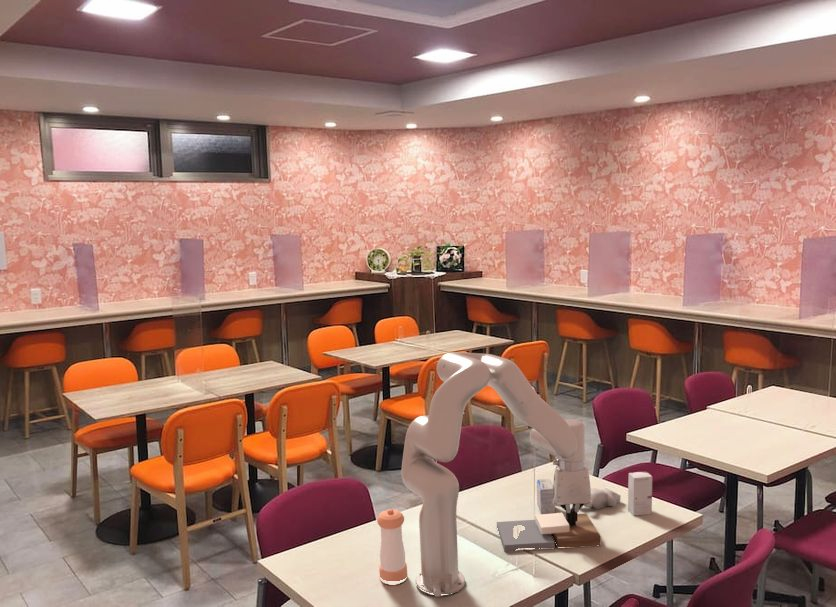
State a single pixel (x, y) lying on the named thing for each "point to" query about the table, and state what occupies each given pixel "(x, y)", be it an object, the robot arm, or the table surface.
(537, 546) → the mat
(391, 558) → the pepper shaker
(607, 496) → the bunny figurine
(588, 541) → the serving board
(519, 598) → the table surface
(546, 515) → the coaster
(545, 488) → the medicine box
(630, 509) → the skincare box
